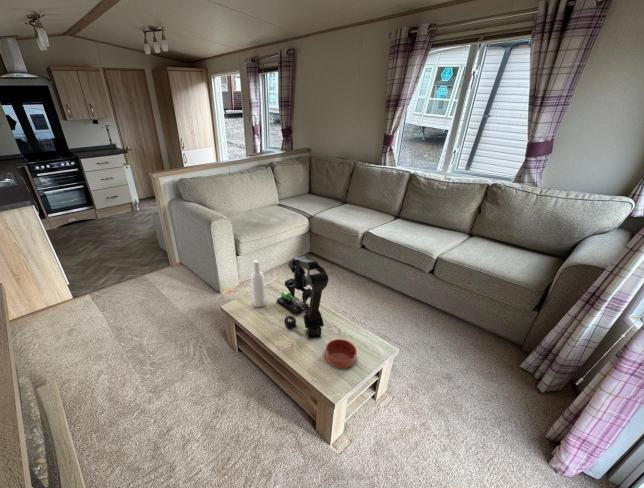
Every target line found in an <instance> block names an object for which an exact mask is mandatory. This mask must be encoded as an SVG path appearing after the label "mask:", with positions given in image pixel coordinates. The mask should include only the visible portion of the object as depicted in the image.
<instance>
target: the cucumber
mask: <svg viewBox="0 0 644 488" xmlns="http://www.w3.org/2000/svg"><path fill="white" fill-rule="evenodd" d="M288 293H289V292H286V291H282V292H281V297H283V298H285V299H286V300H288V301H293V296H291V295H290V294H291V293H290V294H288Z"/></svg>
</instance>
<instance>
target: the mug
mask: <svg viewBox="0 0 644 488" xmlns="http://www.w3.org/2000/svg"><path fill="white" fill-rule="evenodd" d="M285 316H286V317H284V321H283V322H284V326H285V328H286V329H288V330H292V329H294V331H295V332H297V333H299V334H301V335H302V333H300V332H299V331H298V330H296V329H295V328H297V320H296V318H295V317H294V316H292V315H288V314H287V313H285Z"/></svg>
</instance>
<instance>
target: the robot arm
mask: <svg viewBox="0 0 644 488" xmlns="http://www.w3.org/2000/svg"><path fill="white" fill-rule="evenodd" d="M287 266H288V268H289V269H290V271H291V272H292V273H293V278H292V277H291V278H289V279H287V280H285V281H284V286H285V288H286V289H287V291H289V293H290V294H291V295H292V296H293V297H294V296H295V297H296V290H297V291H300V292H302V293H301V299H302V301H303V303H304V304H305V303H306V304H307V301H308V300H309V306H308V307H306V308H305V311H304V314H303V321H304V328H305V329H306V333H307V338H308V339H320V338H322V336H321V335H322V328H323V327H324V325H325V323H324V320H323V317H322V313H321V311H320V305H321V300H322V294H323V291H324V290H325V289H326V288H327V286H328V283H329V276H328V274H327V271H326V269H325V268H324V267H322V266H321V265H319V262H318V261H317V260H311V259H307V257H306V256H305V255H302V256H298V257H297V256H296V257H292V258H291V260H290V261H289V262H288V264H287ZM305 269H306V270H307V274H306V270H305ZM313 270H316V271H317V272H318V273H313V274H311V273H310V272H311V271H313ZM305 274H306V275H305ZM308 286H310V287H311V288H310V287H309V288H307V287H308Z"/></svg>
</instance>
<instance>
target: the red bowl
mask: <svg viewBox="0 0 644 488" xmlns="http://www.w3.org/2000/svg"><path fill="white" fill-rule="evenodd" d="M357 355H358V353H357V349H356V346H355V345H354V344H353V343H352V342H350V341H348V340H346V339H341V338H339V339H333V340H331V341H329V342H328V343H327V344H326V347H325V359H326V361H327V362H328V364H329V365H331V366H332V367H335V368H337V369H347V368H351V367H352V366H353V365H355V363H356V361H357Z"/></svg>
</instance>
